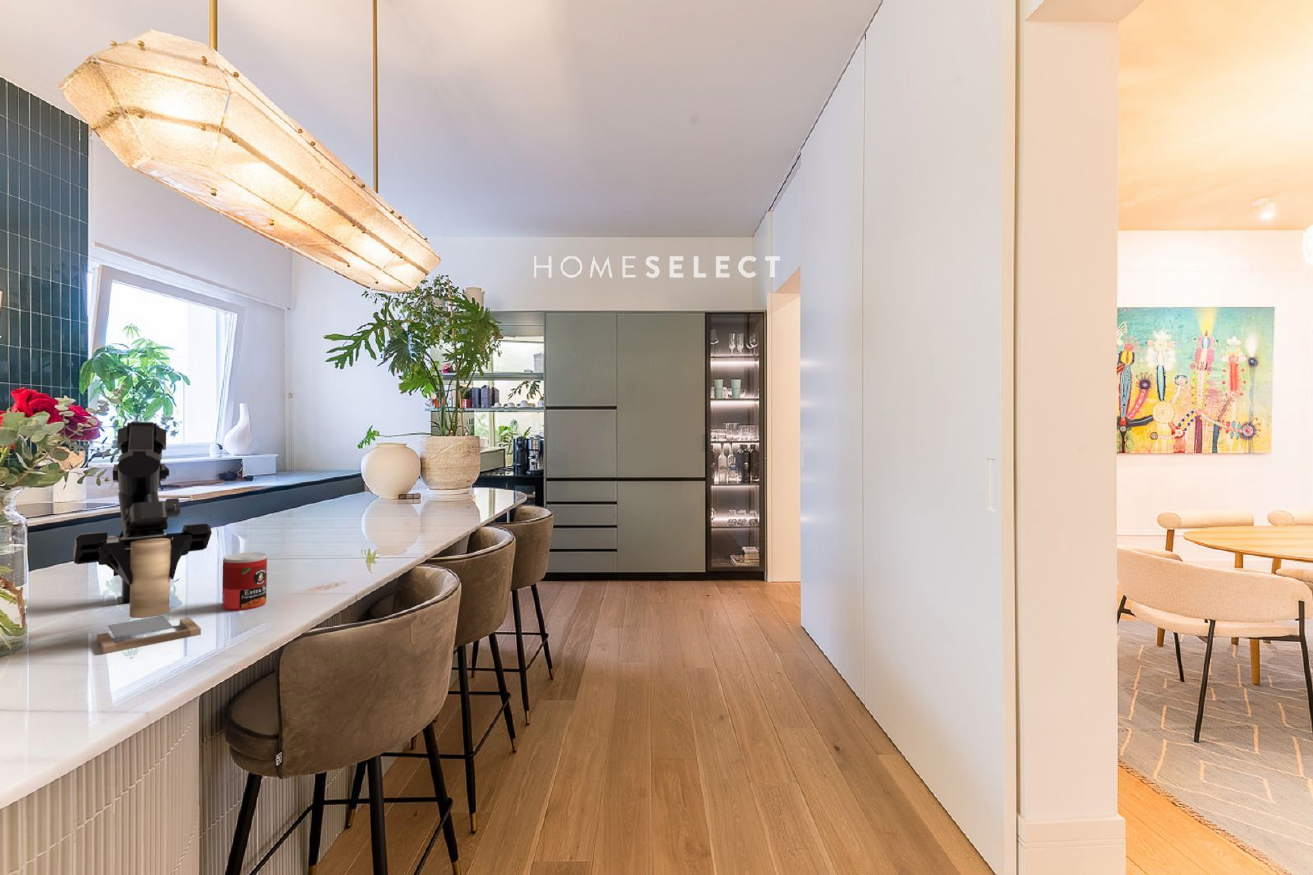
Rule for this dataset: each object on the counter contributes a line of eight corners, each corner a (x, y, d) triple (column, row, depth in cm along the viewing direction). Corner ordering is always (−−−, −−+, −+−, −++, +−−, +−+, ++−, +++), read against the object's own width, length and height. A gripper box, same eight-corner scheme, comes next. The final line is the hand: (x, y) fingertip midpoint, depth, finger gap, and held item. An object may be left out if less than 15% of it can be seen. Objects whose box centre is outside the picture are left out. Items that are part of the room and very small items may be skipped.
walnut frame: (96, 643, 103) (96, 634, 103) (189, 625, 112) (189, 617, 112) (103, 656, 97) (103, 647, 97) (200, 636, 107) (200, 628, 107)
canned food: (244, 614, 120) (245, 561, 120) (212, 610, 121) (212, 558, 121) (275, 603, 127) (276, 553, 127) (244, 600, 129) (245, 551, 129)
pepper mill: (127, 612, 105) (128, 540, 104) (165, 606, 109) (167, 537, 109) (132, 620, 101) (133, 545, 101) (172, 613, 105) (173, 541, 105)
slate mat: (108, 627, 110) (108, 625, 110) (162, 617, 116) (162, 615, 116) (116, 640, 104) (116, 638, 104) (174, 629, 110) (174, 627, 110)
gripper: (76, 487, 100) (83, 562, 93) (209, 481, 114) (224, 546, 107) (70, 526, 105) (76, 600, 98) (199, 516, 119) (212, 580, 113)
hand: (151, 580), depth 104 cm, fingers closed on pepper mill, 5 cm apart
